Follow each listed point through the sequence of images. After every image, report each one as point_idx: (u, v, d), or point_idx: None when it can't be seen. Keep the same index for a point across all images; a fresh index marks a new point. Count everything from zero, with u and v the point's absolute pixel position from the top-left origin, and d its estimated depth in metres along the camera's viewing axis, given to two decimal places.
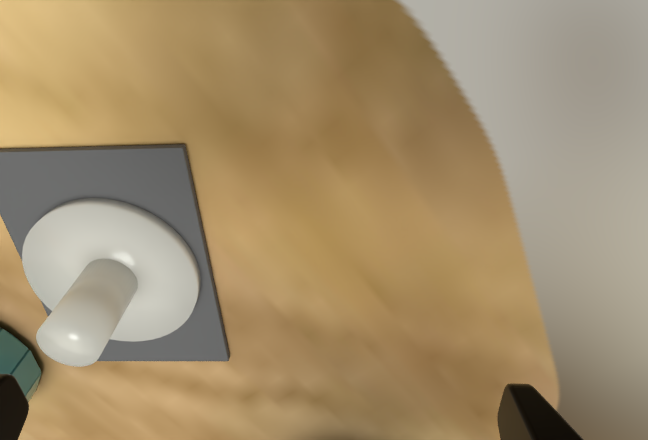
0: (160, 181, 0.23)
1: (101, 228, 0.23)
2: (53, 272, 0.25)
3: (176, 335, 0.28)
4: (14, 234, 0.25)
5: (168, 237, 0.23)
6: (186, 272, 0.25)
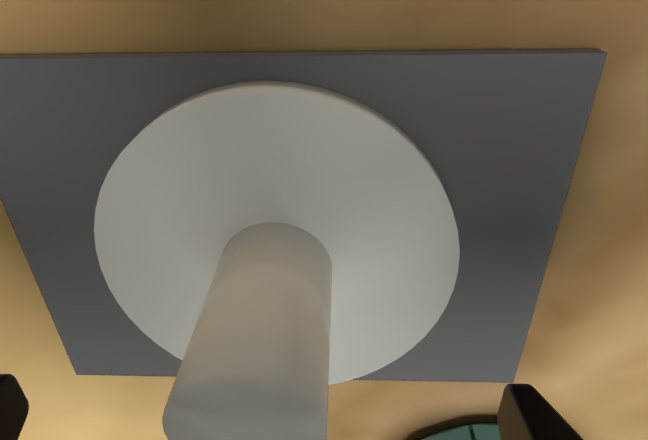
0: (39, 122, 0.11)
1: (146, 254, 0.12)
2: None
3: (479, 174, 0.11)
4: None
5: (142, 132, 0.10)
6: (239, 110, 0.10)
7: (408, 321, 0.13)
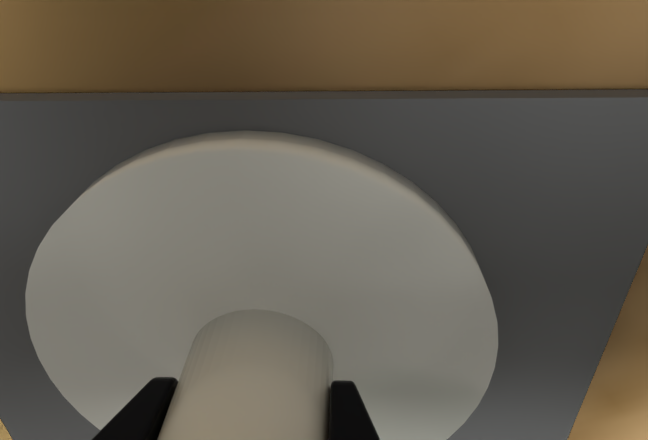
0: None
1: (95, 344, 0.09)
2: None
3: (524, 247, 0.09)
4: None
5: (79, 200, 0.08)
6: (207, 174, 0.07)
7: (428, 421, 0.10)
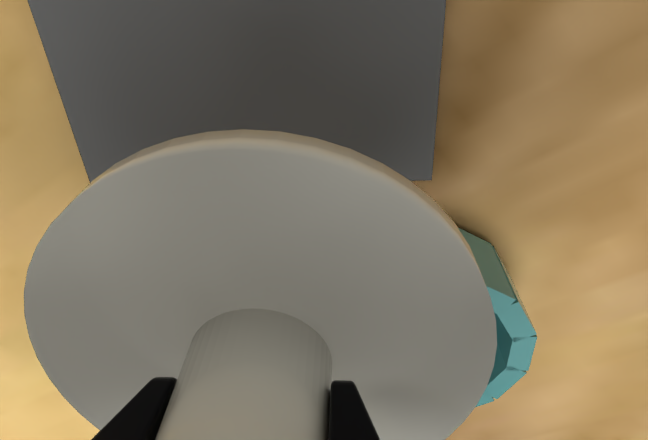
0: None
1: (94, 343, 0.09)
2: None
3: None
4: None
5: (77, 199, 0.08)
6: (206, 173, 0.07)
7: (427, 420, 0.10)
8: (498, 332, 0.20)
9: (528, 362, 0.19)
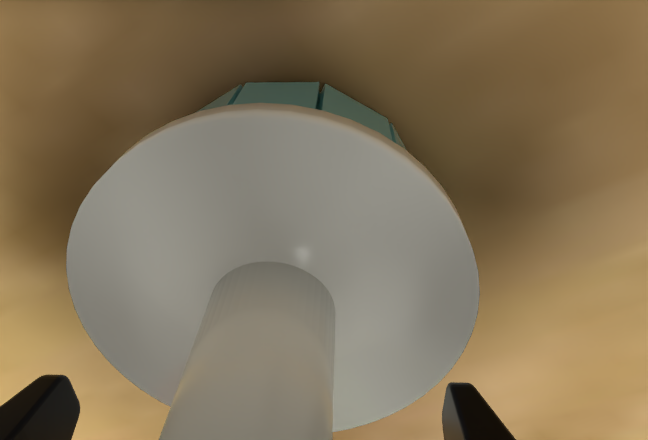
0: None
1: (126, 295, 0.11)
2: None
3: None
4: None
5: (118, 162, 0.09)
6: (229, 138, 0.09)
7: (419, 367, 0.11)
8: None
9: None
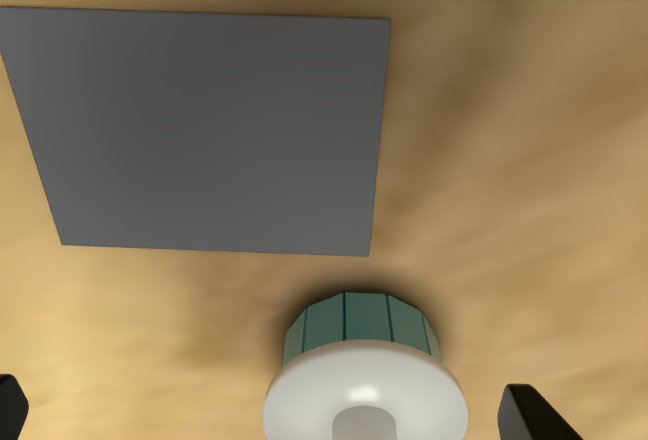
0: (46, 51, 0.17)
1: (291, 416, 0.21)
2: None
3: (326, 97, 0.18)
4: (161, 244, 0.22)
5: (305, 366, 0.19)
6: (359, 360, 0.19)
7: None
8: None
9: None
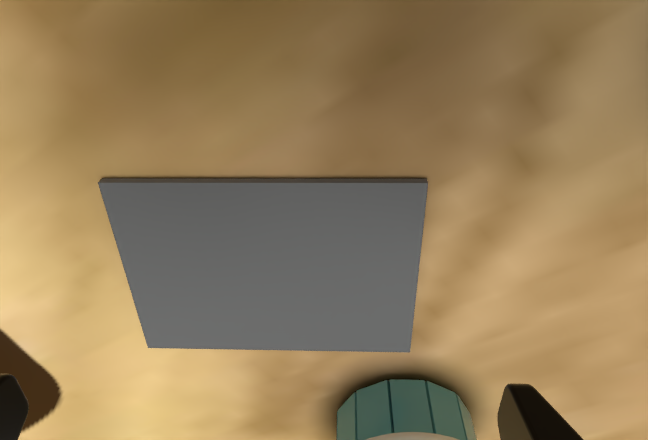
0: (144, 211, 0.21)
1: None
2: None
3: (374, 237, 0.21)
4: (232, 345, 0.25)
5: None
6: None
7: None
8: None
9: None
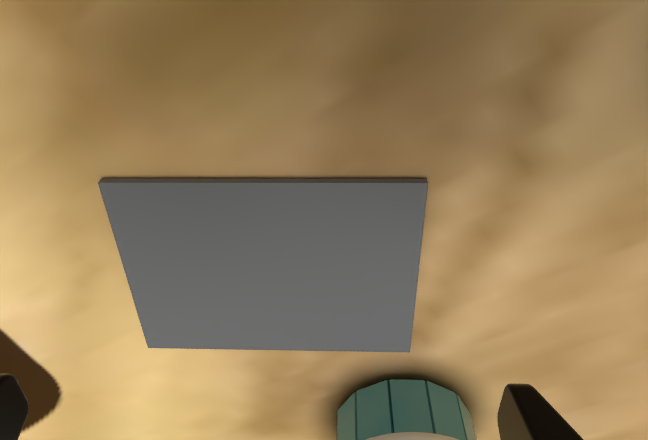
0: (144, 211, 0.21)
1: None
2: None
3: (374, 237, 0.21)
4: (232, 345, 0.25)
5: None
6: None
7: None
8: None
9: None
